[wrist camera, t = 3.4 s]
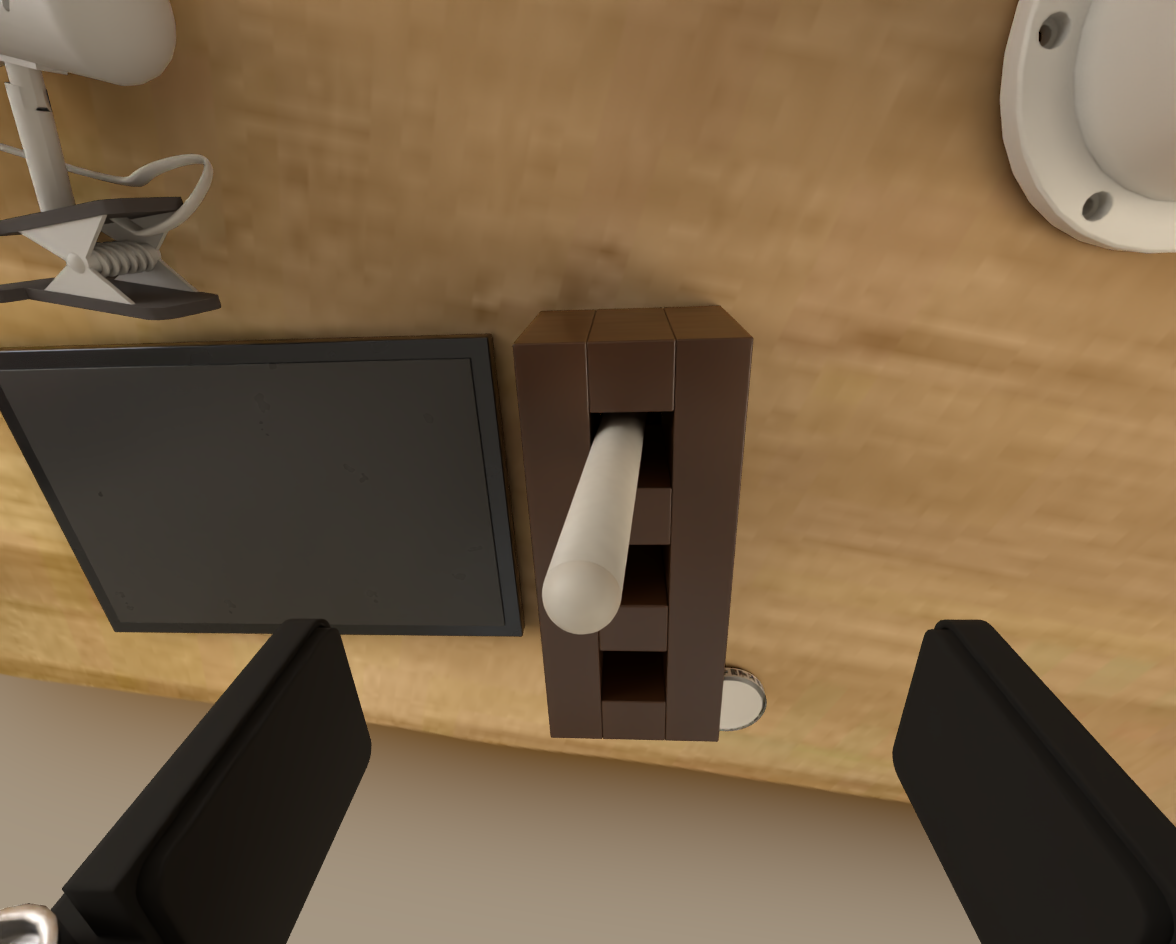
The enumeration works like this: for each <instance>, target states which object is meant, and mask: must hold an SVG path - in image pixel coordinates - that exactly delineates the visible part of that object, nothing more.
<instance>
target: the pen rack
mask: <svg viewBox="0 0 1176 944" xmlns="http://www.w3.org/2000/svg"><path fill="white" fill-rule="evenodd" d="M752 349H753V337H752V336H751V335H750V334H749V333H748V332H747V331H746V330H745V329H744V328H743V327H742V326H741V325H740V324H739V323H738V322H737V321H735V320H734V319H733V318H732V317H731V316H730V315H729V314H728V313H727V312H726V311H725V310H724V309H723V308H722V307H721V306H691V307H664V308H662V307H660V308H628V309H597V310H564V311H541V312H540V313H539V314H538V315H537V316H536V318H535V319H534V320H533V321H532V322H531V323H530V325H529V326H528V327H527V328H526V329H525V330H524V332H523V333H522V334H521V335H520V336H519V338H518V339H517V340H516V341H515V342H514V343H513V355H514V365H515V376H516V386H517V396H518V406H519V417H520V427H521V437H522V447H523V458H524V468H525V478H526V488H527V499H528V509H529V519H530V529H531V540H532V550H533V560H534V570H535V581H536V591H537V601H538V611H539V622H540V632H541V642H542V652H543V663H544V673H545V683H546V693H547V704H548V714H549V724H550V734H551V737H552V738H592V739H602V737H603V739H635V740H674V741H715V742H717V741H718V740H719V728H720V717H721V705H722V694H723V682H724V671H725V659H726V648H727V636H728V625H729V614H730V602H731V591H732V579H733V568H734V556H735V545H736V533H737V522H738V510H739V499H740V487H741V476H742V464H743V453H744V441H745V430H746V418H747V407H748V395H749V384H750V372H751V361H752ZM608 412H661V425H660V424H657V425H645V432H644V439H643V446H642V454H641V461H640V468H639V475H638V482H637V489H636V497H635V504H634V511H633V518H632V525H631V532H630V540H629V547H628V554H627V561H626V568H625V576H624V583H623V590H622V597H621V603H620V606H619V609H618V611H617V613H616V615H615V616H614V618H613V619H612V621H611V622H610V623H609V624H608V625H607V626H605V627H604V628H602V629H601V630H599V631H597V632H594V633H590V634H573V633H569V632H567V631H565V630H563V629H561V628H560V627H558V626H557V625H556V624H555V623H554V622H553V621H552V620H551V619H550V618H549V616H548V614H547V612H546V610H545V608H544V605H543V599H542V588H543V583H544V580H545V577H546V574H547V571H548V568H549V566H550V563H551V560H552V557H553V554H554V551H555V549H556V546H557V543H558V540H559V537H560V534H561V532H562V529H563V526H564V523H565V520H566V517H567V515H568V512H569V509H570V506H571V503H572V500H573V498H574V495H575V492H576V489H577V486H578V483H579V481H580V478H581V475H582V472H583V469H584V466H585V464H586V461H587V458H588V455H589V452H590V450H591V447H592V444H593V441H594V438H595V435H596V433H597V430H598V427H599V424H600V418H599V413H608Z"/></svg>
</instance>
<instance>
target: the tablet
mask: <svg viewBox="0 0 1176 944" xmlns="http://www.w3.org/2000/svg"><path fill="white" fill-rule="evenodd" d="M0 411H1V413H2V415H3V417H4V419H5V421H6V423H7V425H8V427H9V428H10V430H11V432H12V434H13V436H14V438H15V440H16V442H17V444H18V446H19V448H20V450H21V452H22V454H23V456H24V457H25V459H26V461H27V463H28V465H29V467H30V469H31V471H32V473H33V475H34V477H35V479H36V481H37V483H38V485H39V487H40V488H41V490H42V492H43V494H44V496H45V498H46V500H47V502H48V504H49V506H50V508H51V510H52V512H53V514H54V516H55V517H56V519H57V521H58V523H59V525H60V527H61V529H62V531H63V533H64V535H65V537H66V539H67V541H68V543H69V545H70V546H71V548H72V550H73V552H74V554H75V556H76V558H77V560H78V562H79V564H80V566H81V568H82V570H83V572H84V574H85V575H86V577H87V579H88V581H89V583H90V585H91V587H92V589H93V591H94V593H95V595H96V597H97V599H98V601H99V603H100V604H101V606H102V608H103V610H104V612H105V614H106V616H107V618H108V620H109V622H110V624H111V626H112V628H113V630H114V631H115V632H155V633H246V634H273V633H274V632H275V631H276V629H277V628H278V627H279V626H280V625H281V624H282V623H283V622H284V621H285V620H288V619H326V620H327V621H328V622H329V624H330V626H331V628H336V629H337V630H338V631H339V633H340V635H428V636H519V637H521V636H523V632H524V628H525V623H524V614H523V605H522V596H521V588H520V579H519V570H518V561H517V552H516V543H515V534H514V525H513V516H512V507H511V499H510V490H509V481H508V472H507V463H506V454H505V445H504V436H503V427H502V418H501V410H500V401H499V392H498V383H497V374H496V365H495V356H494V347H493V338H492V334H455V335H420V336H385V337H351V338H316V339H281V340H246V341H211V342H177V343H142V344H107V345H72V346H38V347H3V348H0Z"/></svg>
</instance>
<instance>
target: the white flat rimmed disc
mask: <svg viewBox="0 0 1176 944" xmlns="http://www.w3.org/2000/svg"><path fill="white" fill-rule="evenodd" d="M766 704H767V701H766V696H765V693H764V689H763V686H762V684H761V683H760V681H759V680H758V679H757V678H756V677H755V676H754V675H752V674H751V673H749V672H747V671H744V670H741V669H736V668H725V671H724V682H723V694H722V705H721V717H720V728H719V731H734V730H739V729H743V728H746V727H748V726H750V725H752V724H753V723H755V722H756V721H757V720H758V719H760V717H761V716H762V715H763V713H764V711H765V709H766Z"/></svg>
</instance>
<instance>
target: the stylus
mask: <svg viewBox="0 0 1176 944" xmlns="http://www.w3.org/2000/svg"><path fill="white" fill-rule="evenodd" d="M646 418H647V412H608V413H603V416H602V418H601V421H600V424H599V427H598V430H597V433H596V435H595V438H594V441H593V444H592V447H591V450H590V452H589V455H588V458H587V461H586V464H585V466H584V469H583V472H582V475H581V478H580V481H579V483H578V486H577V489H576V492H575V495H574V498H573V500H572V503H571V506H570V509H569V512H568V515H567V517H566V520H565V523H564V526H563V529H562V532H561V534H560V537H559V540H558V543H557V546H556V549H555V551H554V554H553V557H552V560H551V563H550V566H549V568H548V571H547V574H546V577H545V580H544V583H543V588H542V599H543V605H544V608H545V610H546V612H547V614H548V616H549V618H550V619H551V620H552V621H553V622H554V623H555V624H556V625H557V626H558V627H560V628H561V629H563V630H565V631H567V632H569V633H573V634H590V633H594V632H597V631H599V630H601V629H602V628H604V627H605V626H607V625H608V624H609V623H610V622H611V621H612V619H613V618H614V616H615V615H616V613H617V611H618V609H619V606H620V603H621V597H622V590H623V583H624V576H625V568H626V561H627V554H628V547H629V540H630V532H631V525H632V518H633V511H634V504H635V497H636V489H637V482H638V475H639V468H640V461H641V454H642V446H643V439H644V432H645V425H646Z"/></svg>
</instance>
